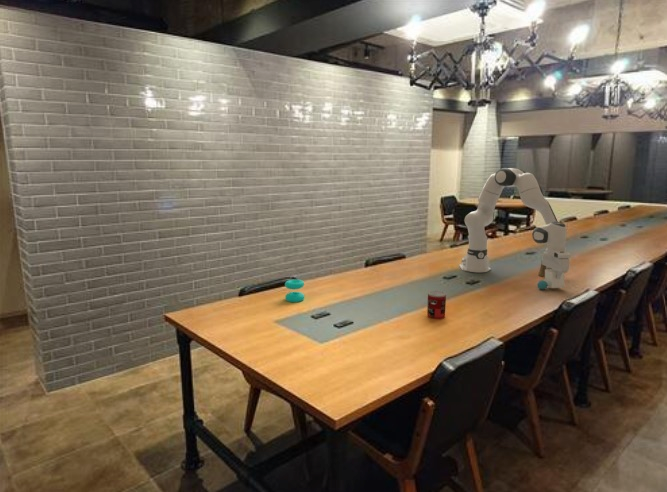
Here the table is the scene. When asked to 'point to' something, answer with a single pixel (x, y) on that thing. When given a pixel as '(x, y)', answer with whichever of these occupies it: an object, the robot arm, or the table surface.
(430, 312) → the canned food
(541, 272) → the wooden mug
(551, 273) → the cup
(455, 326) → the table surface
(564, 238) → the robot arm
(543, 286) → the ball
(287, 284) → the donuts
